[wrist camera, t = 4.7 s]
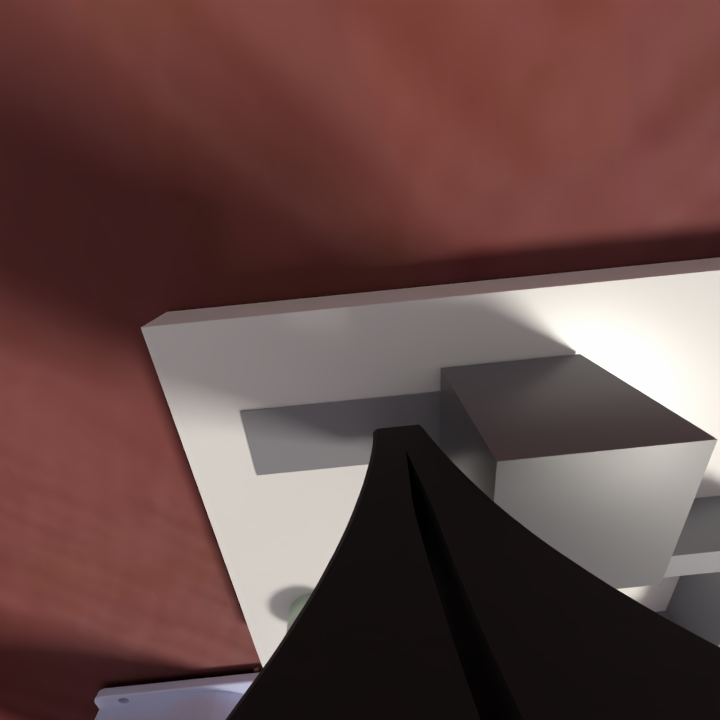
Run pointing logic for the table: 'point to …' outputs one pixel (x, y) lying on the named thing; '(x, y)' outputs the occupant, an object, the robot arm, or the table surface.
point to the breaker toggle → (577, 460)
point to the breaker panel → (416, 407)
